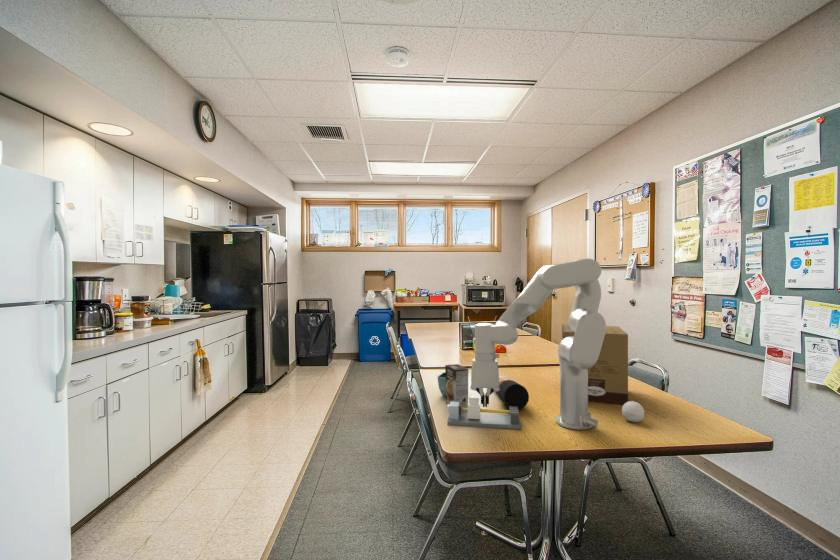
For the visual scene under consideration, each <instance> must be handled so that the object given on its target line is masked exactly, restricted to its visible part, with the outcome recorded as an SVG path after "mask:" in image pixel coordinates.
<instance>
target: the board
mask: <svg viewBox="0 0 840 560" xmlns="http://www.w3.org/2000/svg"><path fill="white" fill-rule="evenodd" d="M508 408H509V409H508V410H510V414H504V413H487V412H480V419H468V411H462V414H461V415H459V419H449V417H448V419H447V425H450V426H462V427H463V426H465V427H478V428H493V429H494V428H495V429H511V430H522V424H521V420H520V412H519V410H518V407H510V406H509V407H508Z"/></svg>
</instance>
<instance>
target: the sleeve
mask: <svg viewBox="0 0 840 560" xmlns="http://www.w3.org/2000/svg"><path fill="white" fill-rule="evenodd" d="M467 408H468V411H467V412H468V419H480V413H481V412H480V409H481V401H480V397H479V396H468V407H467Z"/></svg>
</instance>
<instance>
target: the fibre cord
mask: <svg viewBox="0 0 840 560" xmlns="http://www.w3.org/2000/svg"><path fill="white" fill-rule="evenodd" d="M461 410H462V412H468V407H466V408H462V409H461ZM480 413H487V414H504V415H509V414H510V410H509V409H494V408H492V409H491V408H480Z"/></svg>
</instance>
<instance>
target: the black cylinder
mask: <svg viewBox="0 0 840 560" xmlns="http://www.w3.org/2000/svg"><path fill="white" fill-rule="evenodd" d="M499 388H500V390H499V391H496V392H495V393H497V395H498V398H499V400H500V401H501V402H502V403H503V404H505V405H506V406H507V407H508V408H509V406H510V407H518V411H519V410H521V409H523V408H525V407H526V406H527V405H528V403H529V398H530V395H529V391H528V390H527V388H526V387H525V386H524V385H522V384H520V383H518V382H516V381H514V380H511V379H506V380H505V379H503V378H501V377H499Z"/></svg>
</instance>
